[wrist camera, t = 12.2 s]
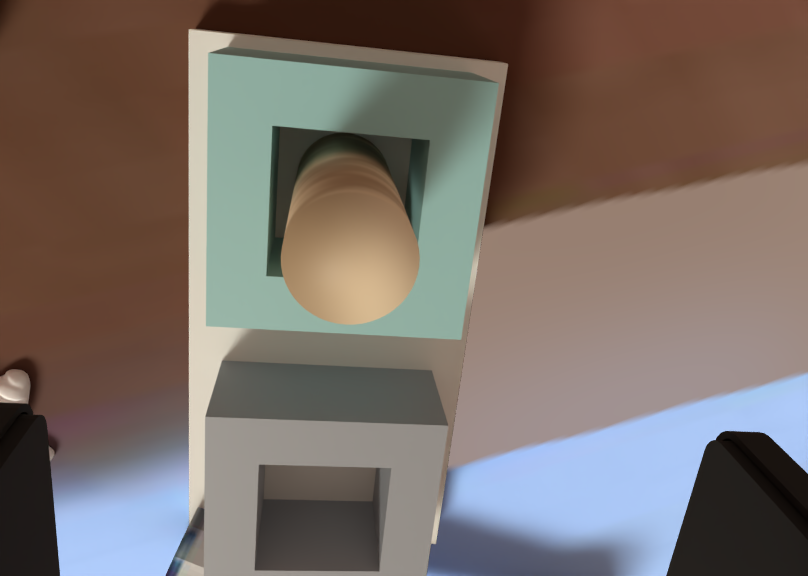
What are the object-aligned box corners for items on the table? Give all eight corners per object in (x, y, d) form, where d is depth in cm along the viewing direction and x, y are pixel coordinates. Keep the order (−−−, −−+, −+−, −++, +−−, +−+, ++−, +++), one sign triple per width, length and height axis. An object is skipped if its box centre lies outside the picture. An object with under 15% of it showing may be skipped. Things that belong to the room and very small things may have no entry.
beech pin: (393, 137, 30) (427, 199, 20) (384, 227, 32) (411, 328, 21) (299, 128, 30) (284, 187, 19) (294, 220, 31) (277, 320, 21)
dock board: (500, 61, 31) (542, 72, 25) (431, 525, 40) (451, 616, 34) (195, 28, 29) (161, 32, 23) (194, 521, 38) (169, 617, 32)
